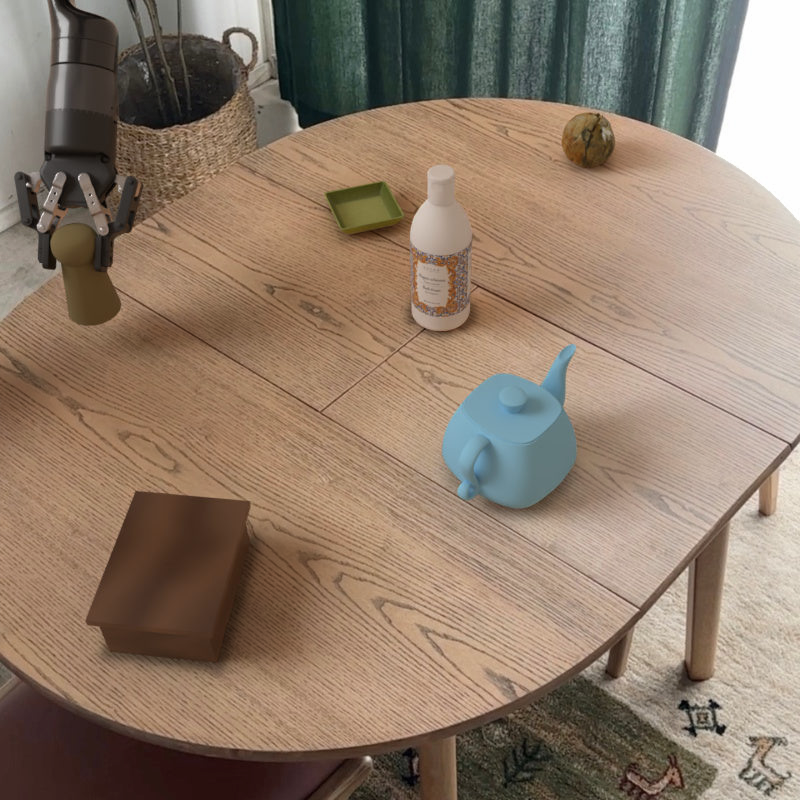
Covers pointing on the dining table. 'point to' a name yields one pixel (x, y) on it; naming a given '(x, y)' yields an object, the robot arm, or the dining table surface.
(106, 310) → the olive pawn
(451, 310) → the bath foam
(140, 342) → the dining table surface
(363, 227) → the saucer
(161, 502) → the lidded wooden box
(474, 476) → the teapot
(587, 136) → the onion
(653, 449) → the dining table surface
